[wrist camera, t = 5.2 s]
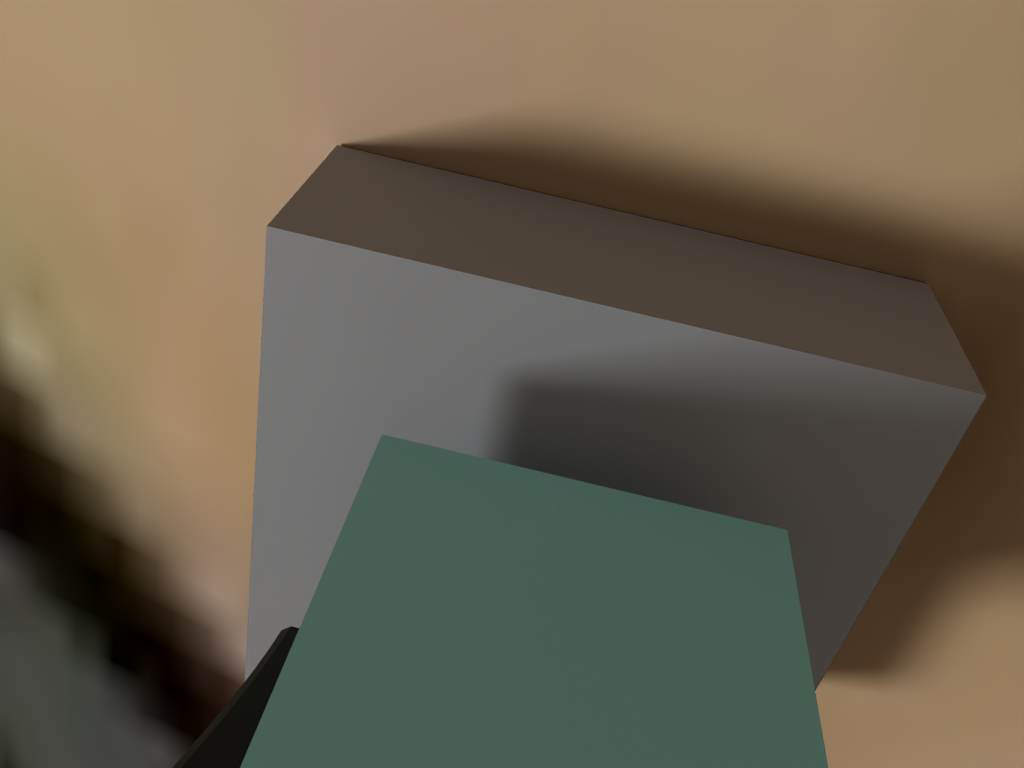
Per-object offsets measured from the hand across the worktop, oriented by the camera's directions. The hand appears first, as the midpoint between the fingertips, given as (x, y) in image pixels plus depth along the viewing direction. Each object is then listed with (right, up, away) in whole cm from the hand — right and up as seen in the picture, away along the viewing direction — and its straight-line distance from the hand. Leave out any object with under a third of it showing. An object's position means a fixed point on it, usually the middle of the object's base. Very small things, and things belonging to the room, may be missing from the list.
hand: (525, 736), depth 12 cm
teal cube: (0, +1, +1) cm, 2 cm away
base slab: (+1, +3, +5) cm, 6 cm away
